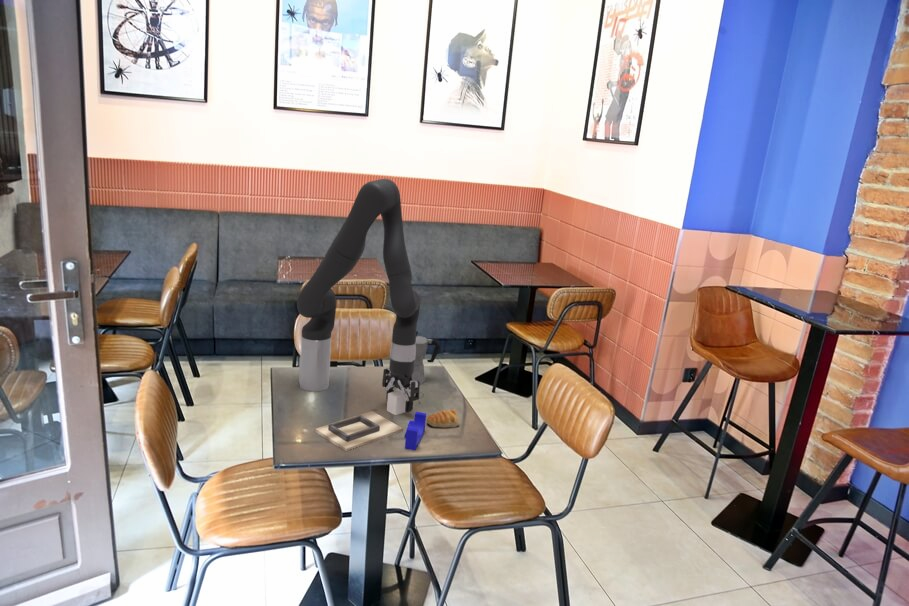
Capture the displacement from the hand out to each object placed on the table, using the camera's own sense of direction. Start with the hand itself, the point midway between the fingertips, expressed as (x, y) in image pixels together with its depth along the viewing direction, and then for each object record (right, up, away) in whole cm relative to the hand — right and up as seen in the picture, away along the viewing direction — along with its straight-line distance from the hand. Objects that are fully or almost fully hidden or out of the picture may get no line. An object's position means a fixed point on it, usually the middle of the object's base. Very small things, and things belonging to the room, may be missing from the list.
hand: (399, 406), depth 190 cm
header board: (-10, -5, -15) cm, 18 cm away
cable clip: (+5, -7, -16) cm, 18 cm away
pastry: (+11, -5, -4) cm, 12 cm away
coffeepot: (+3, +4, +25) cm, 26 cm away
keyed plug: (0, -2, +1) cm, 2 cm away
